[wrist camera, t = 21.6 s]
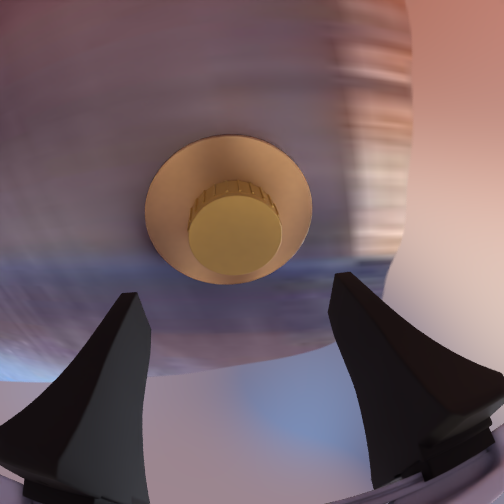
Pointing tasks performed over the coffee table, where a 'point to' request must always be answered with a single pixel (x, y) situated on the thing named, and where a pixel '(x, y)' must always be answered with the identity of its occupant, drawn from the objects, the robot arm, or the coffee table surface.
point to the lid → (234, 228)
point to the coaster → (217, 171)
